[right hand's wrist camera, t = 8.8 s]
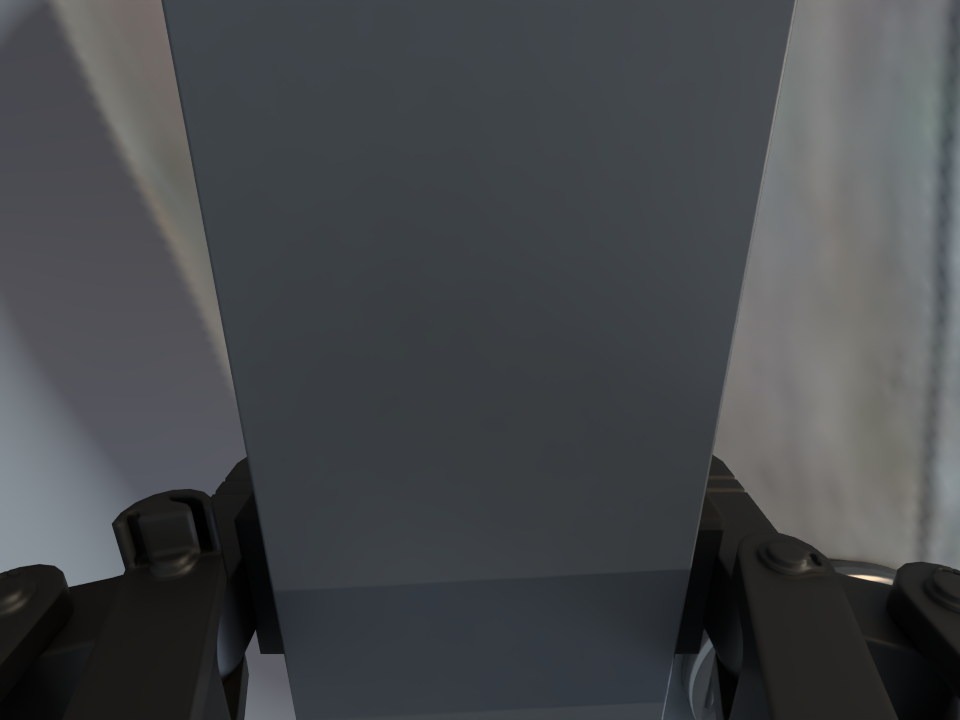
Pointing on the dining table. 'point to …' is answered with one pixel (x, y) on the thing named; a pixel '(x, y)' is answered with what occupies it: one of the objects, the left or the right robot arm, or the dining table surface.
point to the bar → (479, 327)
